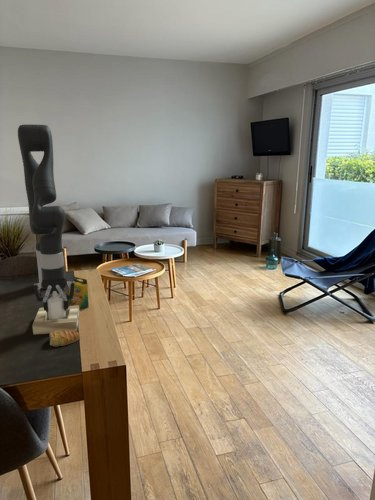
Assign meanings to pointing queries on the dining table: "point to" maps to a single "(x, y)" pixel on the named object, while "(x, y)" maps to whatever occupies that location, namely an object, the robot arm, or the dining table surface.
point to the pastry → (63, 337)
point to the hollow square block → (56, 321)
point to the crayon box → (80, 293)
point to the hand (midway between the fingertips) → (56, 310)
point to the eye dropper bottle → (56, 306)
